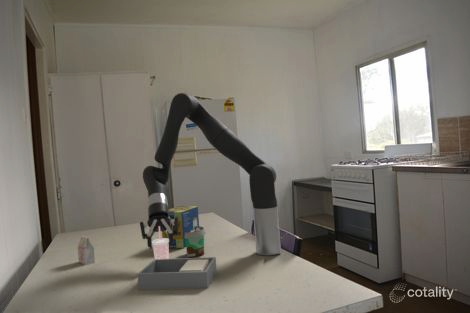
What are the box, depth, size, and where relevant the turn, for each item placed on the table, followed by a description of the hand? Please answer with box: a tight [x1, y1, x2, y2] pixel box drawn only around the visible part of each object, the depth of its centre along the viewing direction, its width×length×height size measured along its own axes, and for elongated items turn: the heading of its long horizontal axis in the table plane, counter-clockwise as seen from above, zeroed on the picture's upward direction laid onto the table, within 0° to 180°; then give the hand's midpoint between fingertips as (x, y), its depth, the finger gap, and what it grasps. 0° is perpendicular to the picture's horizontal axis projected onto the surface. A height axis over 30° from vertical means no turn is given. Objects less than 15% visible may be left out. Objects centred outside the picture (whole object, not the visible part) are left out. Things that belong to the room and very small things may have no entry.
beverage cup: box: [152, 226, 170, 259], centre depth 122 cm, size 6×6×14 cm
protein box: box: [161, 205, 200, 249], centre depth 154 cm, size 10×15×16 cm
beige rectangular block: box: [179, 259, 209, 272], centre depth 105 cm, size 7×10×4 cm
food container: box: [185, 225, 207, 258], centre depth 135 cm, size 12×6×10 cm, turn 168°
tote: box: [136, 256, 218, 291], centre depth 106 cm, size 21×14×6 cm, turn 82°
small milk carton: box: [77, 235, 96, 266], centre depth 136 cm, size 4×7×10 cm, turn 43°
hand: (160, 246), depth 121 cm, fingers closed on beverage cup, 6 cm apart
